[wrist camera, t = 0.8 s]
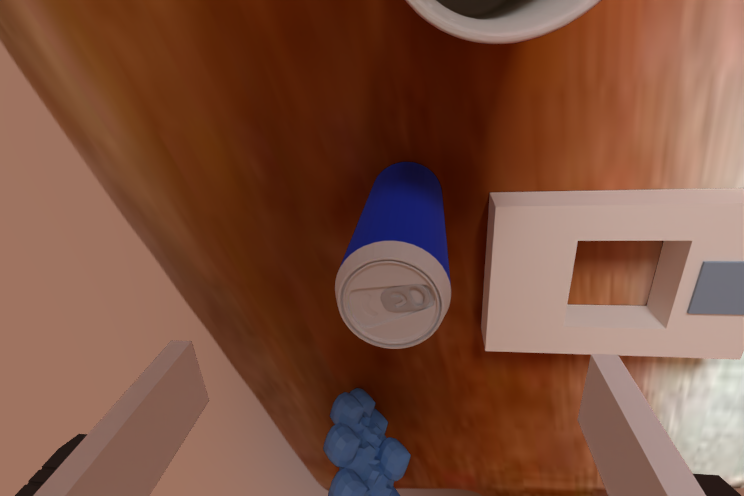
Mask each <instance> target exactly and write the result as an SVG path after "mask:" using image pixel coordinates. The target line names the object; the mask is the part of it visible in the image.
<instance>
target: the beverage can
mask: <svg viewBox="0 0 744 496" xmlns="http://www.w3.org/2000/svg"><path fill="white" fill-rule="evenodd" d="M335 294H336V300H337V305H338V309H339V312H340V315H341V317H342V319H343V321H344V323H345V324H346V325H347V327H348V328H349V329H350V330H351V331H352V332H353V333H354V334H355V335H356V336H358V337H359V338H360V339H362V340H364V341H365V342H367V343H370V344H372V345H374V346H378V347H382V348H388V349H401V348H407V347H411V346H414V345H417V344H419V343H421V342H423V341H425V340H426V339H428V338H429V337H430V336H431V335H432V334H433V333H434V332H435V331H436V330H437V329H438V327H439V325H440V324H441V322H442V320H443V318H444V316H445V314H446V313H447V310H448V308H449V305H450V300H451V283H450V273H449V262H448V251H447V240H446V229H445V219H444V208H443V197H442V189H441V186H440V183H439V181H438V179H437V177H436V176H435V175H434V173H433V172H431V171H430V170H429V169H428V168H426V167H425V166H423V165H420V164H418V163H414V162H400V163H396V164H393V165H391V166H389V167H387V168H386V169H384V170H383V171H382V172H381V173H380V174H379V175H378V177H377V178H376V180H375V182H374V184H373V187H372V189H371V192H370V194H369V197H368V199H367V202H366V204H365V207H364V209H363V212H362V214H361V216H360V219H359V221H358V224H357V226H356V229H355V231H354V234H353V236H352V239H351V241H350V244H349V246H348V249H347V251H346V253H345V256H344V258H343V261H342V263H341V266H340V268H339V271H338V273H337V277H336V281H335Z"/></svg>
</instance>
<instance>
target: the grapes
mask: <svg viewBox="0 0 744 496" xmlns="http://www.w3.org/2000/svg"><path fill="white" fill-rule="evenodd" d="M374 407H375V402H374V400H373V399H372V398H371V397H370V396H369V394H367V393H366V392H365V391H364V390H363V389H359V388H356V389H354V390H352V391H351V392H350V393H347V392H344V393H342V394H340V395H338V397H337V398H336V400H335V401H334V403H333V406H332V409H331V413H330V418H331V419H332V421H333V422H334V424H335V425H334V426H332V427H331V429H330V431H329V432H328V434H327V436H326V439H325V443H324V447H323V450H324V451H325V453H326V455H327V457H328V458H329V460H330V461H331V462H332V463H333V464H334V465H335V466H336V467H340V468H339V470H340V471H338V472H337V473H336V475H335V477H334V478H333V480H332V483H331V486H330V489H329V493H328V496H400V495H399V493H398V492H397V490H396V489H395V488H394V486H393V484H394V481H398V480H399V479H400V478H402V477H403V475H404V473H405V471H406V469H407V466H408V463H409V460H410V456H411V455H410V453H409V452H408V451H407V450H406V448H405V447H404V446H403V445H402V444H401V443H400V442H399V441H398V440H397V439H395V438H391V437H389V438H386V436H385V432H386V429H387V425H388V421H387V420H386V419H385V418H384V416H383V415H382V414H381V413H380V412H379V411H378V410H376V409H374Z"/></svg>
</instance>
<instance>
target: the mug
mask: <svg viewBox="0 0 744 496" xmlns="http://www.w3.org/2000/svg"><path fill="white" fill-rule="evenodd" d="M405 1H406V2H407V4H408V5H409V6H410V7H411V8H412V9H413V10H414V11H415V12H416V13H417V14H418V15H419V16H420V17H421V18H423V19H424V20H425V21H426V22H428V23H429V24H431V25H432V26H434V27H435V28H437V29H439V30H441V31H443V32H445V33H447V34H449V35H452V36H454V37H457V38H460V39H463V40H467V41H471V42H477V43H483V44H509V43H519V42H523V41H528V40H531V39H535V38H538V37H541V36H543V35H546V34H548V33H551V32H553V31H556V30H558V29H560V28H562V27H564V26H566V25H567V24H569V23H571V22H572V21H574V20H576V19H577V18H579V17H580V16H582V15H583V14H585V13H586V12H588V11H589V10H590V9H592V8H593V7H594V6H595V5H597V4H598V3H599V2H600V1H602V0H405Z"/></svg>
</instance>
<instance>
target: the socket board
mask: <svg viewBox="0 0 744 496" xmlns="http://www.w3.org/2000/svg"><path fill="white" fill-rule="evenodd" d="M578 241H664V242H663V246H662V249H661V253H660V257H659V261H658V264H657V268H656V272H655V276H654V279H653V283H652V287H651V291H650V294H649V298H648V302H647V306H619V305H567V302H568V297H569V291H570V285H571V279H572V273H573V267H574V261H575V255H576V249H577V243H578ZM481 331H482V337H483V342H484V347H485V351H498V352H529V353H560V354H590V355H591V354H610V355H621V356H652V357H682V358H713V359H740V358H741V356H742V353H743V351H744V188H715V189H659V190H603V191H547V192H491V193H490V196H489V211H488V227H487V242H486V257H485V273H484V288H483V303H482V318H481Z"/></svg>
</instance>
